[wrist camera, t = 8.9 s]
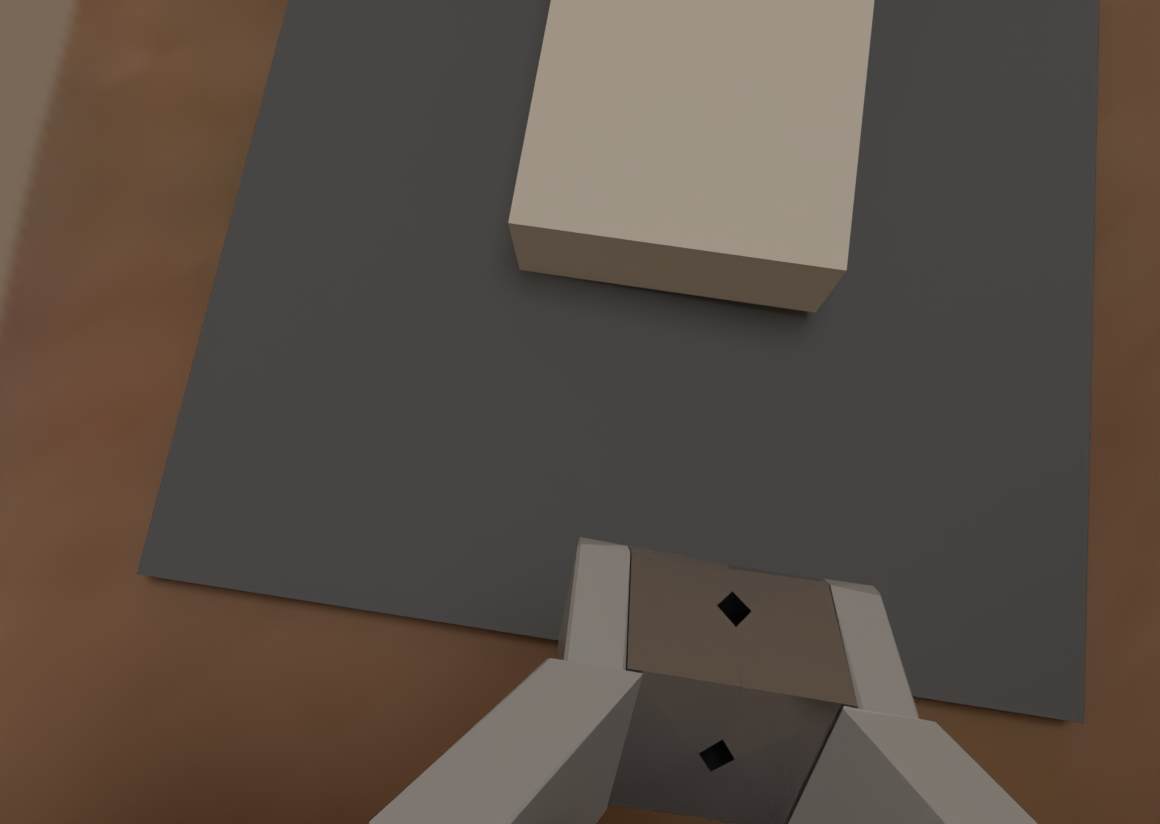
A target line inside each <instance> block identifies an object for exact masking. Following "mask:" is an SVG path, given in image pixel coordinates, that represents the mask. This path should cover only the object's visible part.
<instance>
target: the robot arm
mask: <svg viewBox="0 0 1160 824" xmlns="http://www.w3.org/2000/svg"><path fill="white" fill-rule="evenodd" d="M607 805H613V806H620V807H628V808H635V809H643V810H650V811H658V812H665V813H672V814H680V815H687V816H695V817H699V818H705V819H710V820H715V821H720V822H725V823H731V824H1037V823H1036V822H1035V821H1034V820H1033V819H1032V818H1031V817H1030V816H1029V815H1028V814H1027V813H1026V812H1025V811H1024V810H1023V809H1022V808H1021V807H1020V806H1019V805H1018V804H1017V803H1016V802H1015V801H1014V800H1013V799H1012V798H1011V797H1010V796H1009V795H1008V794H1007V793H1006V792H1005V791H1004V790H1003V789H1002V788H1001V787H1000V786H999V785H998V784H997V783H996V782H995V781H994V780H993V779H992V778H991V777H990V776H989V775H988V774H987V773H986V772H985V771H984V770H983V769H982V768H981V767H980V766H979V765H978V764H977V763H976V762H975V761H974V760H973V759H972V758H971V757H970V756H969V755H968V754H967V753H966V752H965V751H964V750H963V749H962V748H961V747H960V746H959V745H958V744H957V743H956V742H955V741H954V740H953V739H952V738H951V737H950V736H949V735H948V734H947V733H946V732H945V731H944V730H943V729H942V728H941V727H940V726H939V725H938V724H937V723H936V722H933V721H928V720H922V719H920V718H919V715H918V712H917V708H916V705H915V702H914V699H913V696H912V693H911V689H910V686H909V683H908V680H907V677H906V674H905V670H904V667H903V664H902V661H901V658H900V655H899V651H898V648H897V645H896V642H895V639H894V636H893V632H892V629H891V626H890V623H889V620H888V616H887V613H886V610H885V607H884V604H883V601H882V597H881V594H880V593H879V592H878V591H877V589H876V588H875V587H874V586H871V585H864V584H857V583H850V582H843V581H837V580H830V579H823V580H820V579H816V578H810V577H803V576H797V575H791V574H785V573H778V572H772V571H766V570H760V569H754V568H747V567H741V566H735V565H729V564H724V563H719V562H714V561H708V560H703V559H698V558H693V557H687V556H682V555H677V554H672V553H666V552H661V551H656V550H651V549H645V548H640V547H635V546H630V547H629V548H628V546H626V545H620V544H615V543H610V542H604V541H599V540H593V539H588V538H583V537H580V538H579V541H578V544H577V548H576V553H575V558H574V563H573V568H572V573H571V578H570V583H569V588H568V593H567V598H566V603H565V608H564V613H563V618H562V624H561V629H560V635H559V640H558V646H557V651H556V657H555V659H553V658H548V659H546V660H545V661H544V662H543V663H542V664H541V665H540V666H539V667H538V668H537V669H536V670H534V671H533V672H532V673H531V674H530V675H529V676H528V677H527V678H526V679H525V680H523V681H522V682H521V683H520V684H519V685H518V686H517V687H516V688H515V689H514V690H513V691H511V692H510V693H509V694H508V695H507V696H506V697H505V698H504V699H503V700H502V701H501V702H499V703H498V704H497V705H496V706H495V707H494V708H493V709H492V710H491V711H490V712H489V713H487V714H486V715H485V716H484V717H483V718H482V719H481V720H480V721H479V722H478V723H477V724H475V725H474V726H473V727H472V728H471V729H470V730H469V731H468V732H467V733H466V734H465V735H463V736H462V737H461V738H460V739H459V740H458V741H457V742H456V743H455V744H454V745H453V746H451V747H450V748H449V749H448V750H447V751H446V752H445V753H444V754H443V755H442V756H441V757H439V758H438V759H437V760H436V761H435V762H434V763H433V764H432V765H431V766H430V767H429V768H427V769H426V770H425V771H424V772H423V773H422V774H421V775H420V776H419V777H418V778H417V779H415V780H414V781H413V782H412V783H411V784H410V785H409V786H408V787H407V788H406V789H405V790H403V791H402V792H401V793H400V794H399V795H398V796H397V797H396V798H395V799H394V800H392V801H391V802H390V803H389V804H388V805H387V806H386V807H385V808H384V809H383V810H382V811H380V812H379V813H378V814H377V815H376V816H375V817H374V818H373V819H372V820H371V821H370V822H369V824H597V822H598V821H599V819H600V818H601V817H602V815H603V814H604V813H605V811H606V809H607Z"/></svg>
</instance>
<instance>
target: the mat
mask: <svg viewBox="0 0 1160 824" xmlns="http://www.w3.org/2000/svg"><path fill="white" fill-rule="evenodd" d="M550 2H551V0H289V1H288V5H287V9H286V13H285V16H284V20H283V24H282V28H281V32H280V35H279V39H278V43H277V47H276V50H275V54H274V58H273V62H272V66H271V69H270V73H269V77H268V81H267V84H266V88H265V92H264V96H263V100H262V103H261V107H260V111H259V115H258V118H257V122H256V126H255V130H254V134H253V137H252V141H251V145H250V149H249V152H248V156H247V160H246V164H245V168H244V171H243V175H242V179H241V183H240V186H239V190H238V194H237V198H236V202H235V205H234V209H233V213H232V217H231V220H230V224H229V228H228V232H227V236H226V239H225V243H224V247H223V251H222V254H221V258H220V262H219V266H218V270H217V273H216V277H215V281H214V285H213V288H212V292H211V296H210V300H209V304H208V307H207V311H206V315H205V319H204V322H203V326H202V330H201V334H200V338H199V341H198V345H197V349H196V353H195V356H194V360H193V364H192V368H191V372H190V375H189V379H188V383H187V387H186V390H185V394H184V398H183V402H182V406H181V409H180V413H179V417H178V421H177V424H176V428H175V432H174V436H173V440H172V443H171V447H170V451H169V455H168V458H167V462H166V466H165V470H164V474H163V477H162V481H161V485H160V489H159V492H158V496H157V500H156V504H155V508H154V511H153V515H152V519H151V523H150V526H149V530H148V534H147V538H146V542H145V545H144V549H143V553H142V557H141V560H140V564H139V568H138V572H137V574H139V575H145V576H151V577H158V578H164V579H171V580H177V581H183V582H190V583H196V584H202V585H209V586H215V587H221V588H228V589H234V590H240V591H247V592H253V593H259V594H266V595H272V596H278V597H285V598H291V599H298V600H304V601H310V602H317V603H323V604H329V605H336V606H342V607H348V608H355V609H361V610H367V611H374V612H380V613H386V614H393V615H399V616H406V617H412V618H418V619H425V620H431V621H437V622H444V623H450V624H456V625H463V626H469V627H475V628H482V629H488V630H494V631H501V632H507V633H514V634H520V635H526V636H533V637H539V638H545V639H552V640H559V635H560V629H561V624H562V618H563V613H564V608H565V603H566V598H567V593H568V588H569V583H570V578H571V573H572V568H573V563H574V558H575V553H576V548H577V544H578V541H579V538H580V537H583V538H588V539H593V540H599V541H604V542H610V543H615V544H620V545H626V546H628V548H629V547H630V546H635V547H640V548H645V549H651V550H656V551H661V552H666V553H672V554H677V555H682V556H687V557H693V558H698V559H703V560H708V561H714V562H719V563H724V564H729V565H735V566H741V567H747V568H754V569H760V570H766V571H772V572H778V573H785V574H791V575H797V576H803V577H810V578H816V579H820V580H823V579H830V580H837V581H843V582H850V583H857V584H864V585H871V586H874V587H875V588H876V589H877V591H878V592H879V593H880V594H881V597H882V601H883V604H884V607H885V610H886V613H887V616H888V620H889V623H890V626H891V629H892V632H893V636H894V639H895V642H896V645H897V648H898V651H899V655H900V658H901V661H902V664H903V667H904V670H905V674H906V677H907V680H908V683H909V686H910V689H911V693H912V696H914V697H920V698H926V699H933V700H939V701H945V702H952V703H958V704H965V705H971V706H977V707H984V708H990V709H996V710H1003V711H1009V712H1015V713H1022V714H1028V715H1034V716H1041V717H1047V718H1053V719H1060V720H1066V721H1073V722H1079V723H1084V691H1085V646H1086V600H1087V554H1088V508H1089V462H1090V417H1091V371H1092V325H1093V279H1094V233H1095V188H1096V142H1097V96H1098V50H1099V4H1100V0H874V9H873V19H872V29H871V38H870V48H869V58H868V67H867V77H866V87H865V97H864V106H863V116H862V126H861V135H860V145H859V155H858V165H857V174H856V184H855V194H854V203H853V213H852V223H851V233H850V242H849V252H848V262H847V271H846V272H845V273H844V275H843V276H842V277H841V279H840V280H839V282H838V283H837V284H836V286H835V287H834V288H833V290H832V291H831V292H830V294H829V295H828V297H827V298H826V299H825V301H824V302H823V303H822V305H821V306H820V307H819V309H818V310H817V312H816V313H815V312H808V311H801V310H794V309H787V308H780V307H773V306H766V305H759V304H752V303H745V302H738V301H731V300H724V299H717V298H710V297H703V296H696V295H689V294H683V293H676V292H669V291H662V290H655V289H648V288H641V287H634V286H627V285H620V284H613V283H606V282H599V281H592V280H585V279H578V278H571V277H564V276H557V275H550V274H543V273H537V272H530V271H523V270H520V269H519V265H518V261H517V257H516V253H515V249H514V245H513V241H512V237H511V233H510V228H509V224H508V221H509V216H510V211H511V205H512V200H513V195H514V190H515V185H516V179H517V174H518V169H519V164H520V159H521V153H522V148H523V143H524V138H525V132H526V127H527V122H528V117H529V112H530V106H531V101H532V96H533V91H534V86H535V80H536V75H537V70H538V65H539V60H540V54H541V49H542V44H543V39H544V33H545V28H546V23H547V18H548V13H549V7H550Z"/></svg>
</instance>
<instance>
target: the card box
mask: <svg viewBox="0 0 1160 824" xmlns="http://www.w3.org/2000/svg"><path fill="white" fill-rule="evenodd" d="M873 9H874V0H551V2H550V7H549V13H548V18H547V23H546V28H545V33H544V39H543V44H542V49H541V54H540V60H539V65H538V70H537V75H536V80H535V86H534V91H533V96H532V101H531V106H530V112H529V117H528V122H527V127H526V132H525V138H524V143H523V148H522V153H521V159H520V164H519V169H518V174H517V179H516V185H515V190H514V195H513V200H512V205H511V211H510V216H509V221H508V224H509V228H510V233H511V237H512V241H513V245H514V249H515V253H516V257H517V261H518V265H519V269H520V270H523V271H530V272H537V273H543V274H550V275H557V276H564V277H571V278H578V279H585V280H592V281H599V282H606V283H613V284H620V285H627V286H634V287H641V288H648V289H655V290H662V291H669V292H676V293H683V294H689V295H696V296H703V297H710V298H717V299H724V300H731V301H738V302H745V303H752V304H759V305H766V306H773V307H780V308H787V309H794V310H801V311H808V312H815V313H816V312H817V310H818V309H819V307H820V306H821V305H822V303H823V302H824V301H825V299H826V298H827V297H828V295H829V294H830V292H831V291H832V290H833V288H834V287H835V286H836V284H837V283H838V282H839V280H840V279H841V277H842V276H843V275H844V273H845V272H846V271H847V262H848V252H849V242H850V233H851V223H852V213H853V203H854V194H855V184H856V174H857V165H858V155H859V145H860V135H861V126H862V116H863V106H864V97H865V87H866V77H867V67H868V58H869V48H870V38H871V29H872V19H873Z"/></svg>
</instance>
